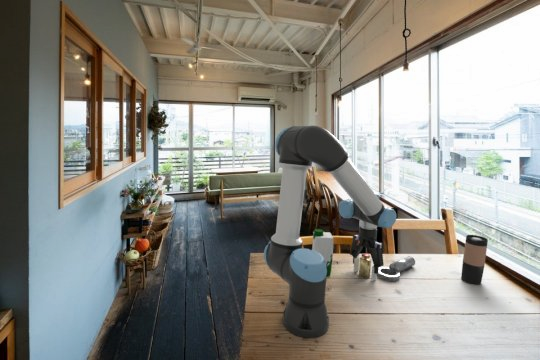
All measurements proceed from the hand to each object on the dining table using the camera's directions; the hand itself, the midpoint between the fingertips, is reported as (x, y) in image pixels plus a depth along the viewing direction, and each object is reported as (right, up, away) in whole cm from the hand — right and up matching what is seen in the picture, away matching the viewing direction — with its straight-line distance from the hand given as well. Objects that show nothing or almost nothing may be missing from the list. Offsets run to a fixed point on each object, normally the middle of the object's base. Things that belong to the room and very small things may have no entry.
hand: (364, 275), depth 124 cm
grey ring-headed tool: (+17, 0, +4) cm, 17 cm away
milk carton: (-19, 0, +2) cm, 19 cm away
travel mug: (+46, -2, -3) cm, 46 cm away
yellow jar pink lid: (0, 0, 0) cm, 0 cm away
